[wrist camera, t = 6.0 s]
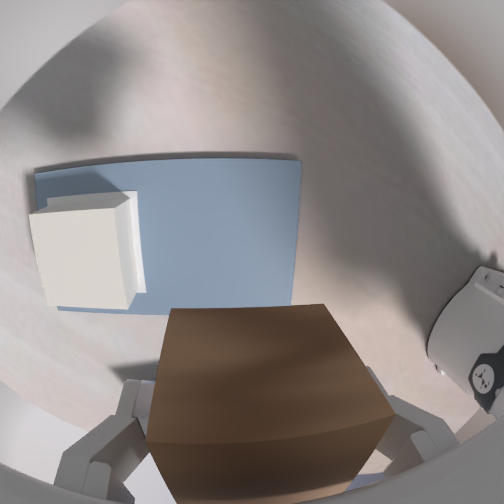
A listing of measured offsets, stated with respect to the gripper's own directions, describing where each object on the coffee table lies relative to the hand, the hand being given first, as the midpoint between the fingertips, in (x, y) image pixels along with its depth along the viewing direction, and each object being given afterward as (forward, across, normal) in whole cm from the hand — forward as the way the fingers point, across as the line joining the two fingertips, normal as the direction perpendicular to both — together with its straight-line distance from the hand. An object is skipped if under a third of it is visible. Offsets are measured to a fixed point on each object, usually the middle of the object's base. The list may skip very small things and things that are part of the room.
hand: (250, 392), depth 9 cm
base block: (+17, +12, 0) cm, 21 cm away
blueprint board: (+18, +6, 0) cm, 19 cm away
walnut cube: (+1, 0, 0) cm, 1 cm away
